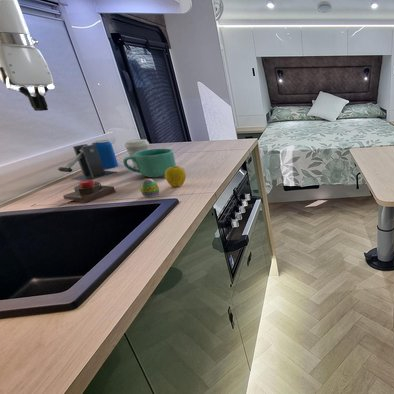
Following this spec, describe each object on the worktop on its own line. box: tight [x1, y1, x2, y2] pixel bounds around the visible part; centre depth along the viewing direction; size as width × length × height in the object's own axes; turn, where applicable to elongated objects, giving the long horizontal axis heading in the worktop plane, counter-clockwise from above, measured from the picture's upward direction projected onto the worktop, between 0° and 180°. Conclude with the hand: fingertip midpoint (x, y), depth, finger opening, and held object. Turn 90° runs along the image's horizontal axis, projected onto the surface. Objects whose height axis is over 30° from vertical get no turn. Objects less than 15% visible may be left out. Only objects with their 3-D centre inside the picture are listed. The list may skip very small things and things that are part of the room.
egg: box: [139, 178, 160, 199], centre depth 93 cm, size 5×5×6 cm
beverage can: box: [91, 139, 119, 170], centre depth 123 cm, size 6×6×12 cm
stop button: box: [78, 179, 95, 188], centre depth 93 cm, size 4×4×2 cm
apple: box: [164, 165, 187, 187], centre depth 102 cm, size 6×6×8 cm
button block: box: [62, 181, 117, 205], centre depth 94 cm, size 10×8×4 cm
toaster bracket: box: [70, 143, 118, 181], centre depth 111 cm, size 11×9×13 cm
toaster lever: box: [57, 144, 86, 173], centre depth 107 cm, size 12×5×2 cm
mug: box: [122, 148, 177, 179], centre depth 113 cm, size 17×13×10 cm
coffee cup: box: [124, 138, 150, 169], centre depth 123 cm, size 9×8×12 cm
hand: (41, 110), depth 87 cm, fingers closed
